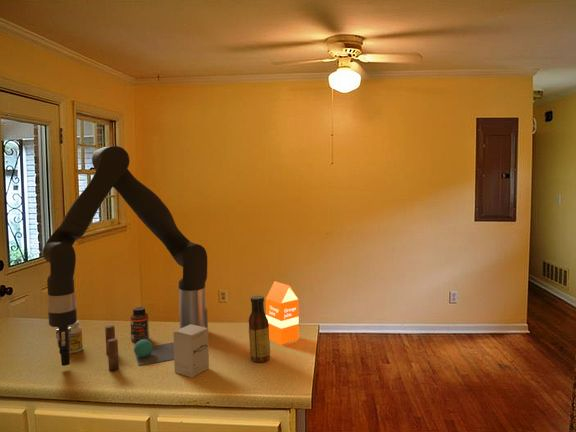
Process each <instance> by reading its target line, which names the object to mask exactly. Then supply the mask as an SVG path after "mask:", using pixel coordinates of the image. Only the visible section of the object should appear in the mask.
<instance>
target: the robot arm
mask: <svg viewBox="0 0 576 432" xmlns="http://www.w3.org/2000/svg"><path fill="white" fill-rule="evenodd" d="M91 162H92V163H91V164H92V167H93V168H94V170H95V172H94V175H93V176H92V178H91V180H90V181H89V183H88V185H87V186H86V187H85V188H84V190H83V191H82V192H81V193H80V194H79V195H78V197H76V199H75V200H74V201H73V203H72V204H71V206H70V208H69V209H68V211H67V212H66V215H64V218H63V219H62V221H61V223H60V224H59V226H58V227H57V228H56V229H55V231H54V232H53V233H52V234H51V236H50V237H49V238H48V239H47V241H46V243H45V244H44V246H43V249H42V257H43V258H44V260H45V261H46V262H47V263H49V264H50V268H49V269H50V272H49V273H50V274H49V275H48V277H47V280H46V284H47V285H46V287H47V314H48V315H47V318H48V326H50V327H52V328H57V329H56V332H55V336H56V337H55V338H56V341H57V347H58V349H59V351H58V352H59V354H60V361H61V366H62V367H65V366H69V365H70V364H71V363H70V361H71V360H70V356H71V355H70V353H69V351H70V348H69V347H70V345H71V327H70V328H68V326H69V325H72V324H74V323H76V322H77V320H78V312H77V299H76V297H77V296H76V294H75V281H74V279H75V278H74V275H75V271H76V270H75V269H76V261H77V259H76V250H75V248H74V246H73V245H74V244H75V242H76V241H77V240H78V239H80V238H82V237H83V236H84V235H85V233H86V232H87V229H88V228H89V227H90V225H91V223H92V221H93V219H94V217H95V215H96V214H97V212H98V211H99V208H100V207H101V206H102V203H104V200H105V199H106V197H107V196H108V194H109V193H110V191H111V190H112V189H113V188H114V190H116V192H117V193H118V194H119V195H120V196H121V198H122V199H123V201H125V203H126V204H127V206H129V208H131V210H132V211H133V212H134V214H135V215H136V216H137V217H138V218H139V220H140V221H141V222H142V223H143V224H144V225H145V226H146V227H147V228H148V229H149V231H150V232H152V234H153V235H154V236H155V237H156V238H157V239H158V240H159V241H160V242H161V243H162V244H163V245H164V247H166V249H167V251H168V252H169V254H170V255H171V256H172V258H173V260H174V261H175V263H176V264H178V265H179V266H180V267H182V278H180V279H179V281H178V302H179V303H178V304H179V329H181V328H183V327H185V326H188V325H190V324H192V325H196V326H201V327H205V328H208V329H209V326H208V325H209V324H208V321H209V320H208V308H207V306H206V305H207V303H206V282H207V279H208V254H207V251H206V249H205V247H204V246H203V245H201V244H198V243H194V242H192V241H190V240H189V239H188V238H187V237H186V236H185V235H184V233H182V232H181V231H180V229H179V227H178V226H177V224H176V222H175V219H174V217H173V215H172V212H171V210H169V208H168V207H167V205H166V204H165V203H164V202H163V201H162V200H161V198H160V197H159V196H158V195H157V194H156V193H155V192H154V191H153V190H151V189H150V188H149V187H147V186H146V185H145V184H143V183H142V182H141V181H140V180H139V179H137V178H136V177H135V176H134V175H133V174H132V173H131V171H130V170H129V169H128V168H129V166H130V162H131V161H130V155H129V154H128V151H127V150H126V149H125V148H123V147H121V146H118V145H108V146H104V147H101V148H98V149H96V150H95V151H94V152H93V154H92V158H91Z"/></svg>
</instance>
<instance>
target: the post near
mask: <svg viewBox="0 0 576 432" xmlns="http://www.w3.org/2000/svg"><path fill="white" fill-rule="evenodd" d="M107 343H108V355H107V363H108V372H112V373H113V372H114V373H115V372H117V371H119V370H120V366H119V365H120V363H119V341H118V339H117V338H115V339H109V340H108V341H107Z"/></svg>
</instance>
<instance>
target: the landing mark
mask: <svg viewBox="0 0 576 432" xmlns="http://www.w3.org/2000/svg"><path fill="white" fill-rule="evenodd" d="M133 352H134V355H135V358H136V361H137V365H138V367H141V366H146V365H152V364H156V363H158V364H159V363H163V362H164V363H165V362H169V361H174V341H173V342H169V343H168V342H167V343H162V344H156V345H153V350H152V353H151V354H150V355H149V356H147V357H144V358H142V357H139V356H137V355H136V353H135V351H134V350H133Z"/></svg>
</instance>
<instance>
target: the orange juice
mask: <svg viewBox="0 0 576 432" xmlns="http://www.w3.org/2000/svg"><path fill="white" fill-rule="evenodd" d="M265 315H266V317H267V320H268V323H269V340H272V341H274V342H273V343H275V342H276V343H275V344H277V343H278V344H277V345H279V344H281V345H282V344H285V343H287V342H290V341H293V340H297V339H299V338H300V337H299V334H300V333H299V328H300V327H299V319H300V317H299V298H298V296H297V295H296V293H295V292H294V290H293V289H292V287H291V286H290V285H288V284H285V283H282V282H279V281H276V280H274V281H273V284H272V285H271V288H270V289H269V291H268V294H267V295H266V297H265ZM272 341H271V342H272ZM281 345H280V346H281Z"/></svg>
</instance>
